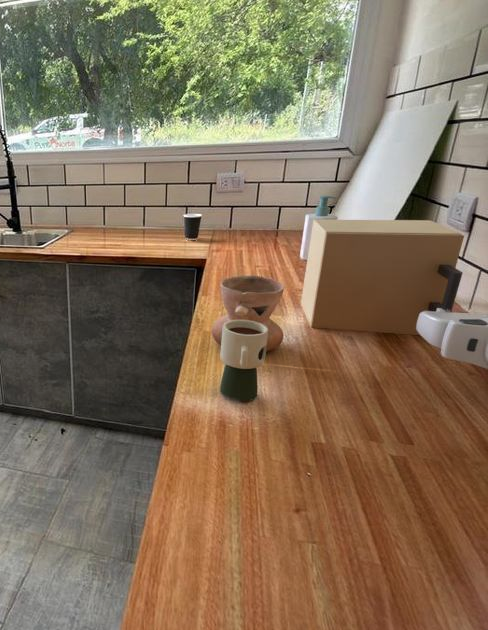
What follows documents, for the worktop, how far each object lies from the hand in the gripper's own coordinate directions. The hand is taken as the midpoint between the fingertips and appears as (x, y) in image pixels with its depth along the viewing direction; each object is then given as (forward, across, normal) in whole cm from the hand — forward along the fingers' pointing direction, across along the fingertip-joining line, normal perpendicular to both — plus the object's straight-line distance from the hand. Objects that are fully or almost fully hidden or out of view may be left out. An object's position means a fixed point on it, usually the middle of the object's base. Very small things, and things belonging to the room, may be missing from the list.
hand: (471, 313), depth 81 cm
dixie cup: (+111, +56, +11) cm, 125 cm away
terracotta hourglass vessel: (+2, +37, +11) cm, 39 cm away
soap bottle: (+83, +11, +11) cm, 84 cm away
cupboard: (+24, +10, +11) cm, 28 cm away
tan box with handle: (+12, +10, +11) cm, 19 cm away
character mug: (-20, +39, +11) cm, 46 cm away
